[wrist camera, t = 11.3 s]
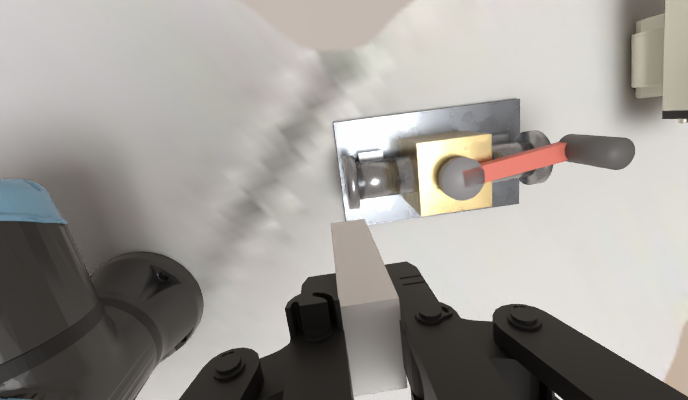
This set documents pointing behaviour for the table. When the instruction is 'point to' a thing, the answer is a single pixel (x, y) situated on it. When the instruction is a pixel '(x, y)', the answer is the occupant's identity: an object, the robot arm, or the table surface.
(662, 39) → the ball valve
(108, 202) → the table surface
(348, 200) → the valve assembly
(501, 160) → the lever
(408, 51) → the table surface
